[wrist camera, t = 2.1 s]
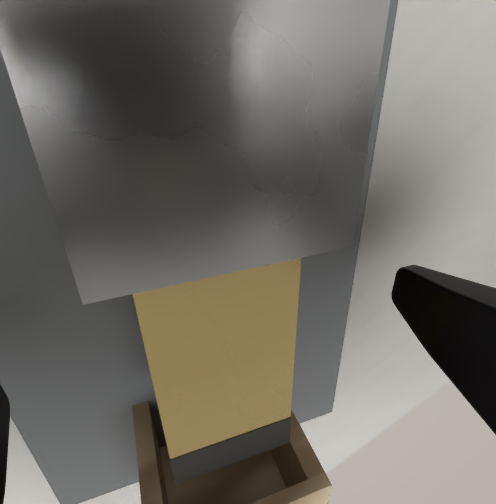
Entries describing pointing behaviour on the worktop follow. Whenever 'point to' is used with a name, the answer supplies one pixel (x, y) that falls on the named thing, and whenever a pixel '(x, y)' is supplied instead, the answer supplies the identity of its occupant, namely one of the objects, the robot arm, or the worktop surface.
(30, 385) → the slate mat
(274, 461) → the maple socket
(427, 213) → the worktop surface
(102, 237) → the steel sleeve
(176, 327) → the tube
